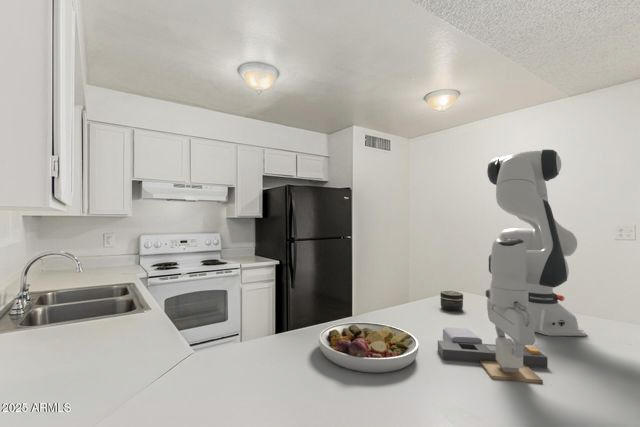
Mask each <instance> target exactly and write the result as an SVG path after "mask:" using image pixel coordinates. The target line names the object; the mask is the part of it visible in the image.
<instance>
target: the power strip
mask: <svg viewBox="0 0 640 427" xmlns="http://www.w3.org/2000/svg"><path fill="white" fill-rule="evenodd" d="M437 352H438V353H439V355H440V357H441V359H442V360H443V361H455V362H456V361H457V362H467V363H468V362H469V363H479V364H480V361H492V362H498V361H497V360H496V344H490V343H482V344H480V343H466V342H452V341H444V340H437ZM523 364H525V365H527V366H528V367H529V368H540V369H541V368H542V369H543V368H544V369H548V356H547V355H546V354H544V353H542V352H541V350H539V349H537V348H536V346H528V345H525V347H524V349H523Z"/></svg>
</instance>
